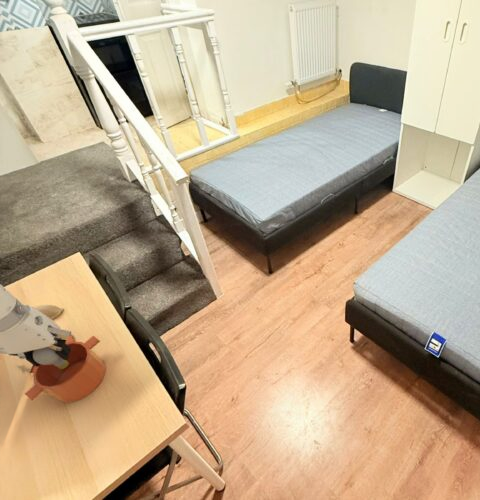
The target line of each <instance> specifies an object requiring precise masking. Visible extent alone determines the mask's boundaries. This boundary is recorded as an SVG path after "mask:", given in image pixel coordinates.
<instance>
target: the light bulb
mask: <svg viewBox="0 0 480 500" xmlns="http://www.w3.org/2000/svg"><path fill="white" fill-rule="evenodd" d="M54 344H57V342H56V341H55V343H54ZM55 351H56V350H54V349H52V348H49V347H45V348H40V349H36V350H34V351H33V358H34V360H35V361H36V362H37V363H39V364H42V365H50V364H53V365H55V366H57V367H58V368H60V369H64V368H66V367H67V366H68V364H69V362H68V361H66V360H63V359H62V358H61V357H60V356H58V355H57V354H56V353H55Z"/></svg>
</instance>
